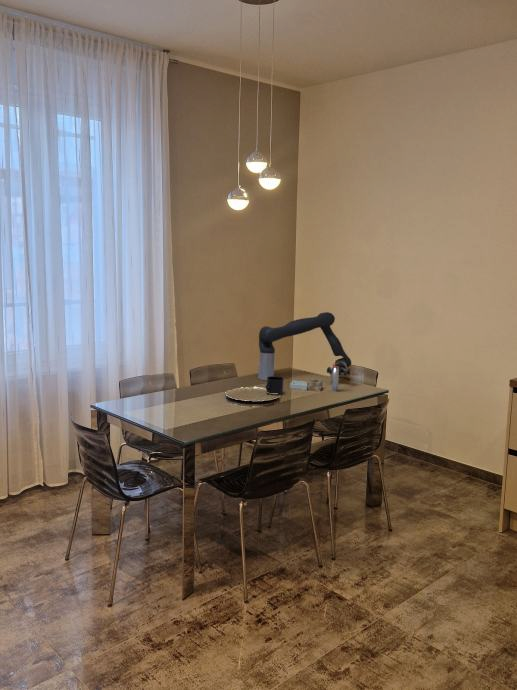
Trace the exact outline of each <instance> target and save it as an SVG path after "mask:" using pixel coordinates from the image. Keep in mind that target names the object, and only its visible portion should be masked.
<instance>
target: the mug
mask: <svg viewBox="0 0 517 690" xmlns="http://www.w3.org/2000/svg"><path fill="white" fill-rule="evenodd" d="M265 389H266V393H267V392H269V393H278V394H281V395H283V394H284V377H281V376H276V375H275V376H270V377H267V380H266V385H265Z"/></svg>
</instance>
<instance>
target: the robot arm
mask: <svg viewBox="0 0 517 690" xmlns="http://www.w3.org/2000/svg"><path fill="white" fill-rule="evenodd" d="M335 318H336V317H335V315H334V314H333V313H331V312H328V311H327V312H326V311H325V312H321V313H319V314H317V316H313V317H303V318H298V319H295V320H291V321H290V322H288V323H286V324H285V325H283V326H278V327H270V326H266V325H265V326H263V327H261V328H260V330H259V334H258V348H259V363H258V373H257V374H258V375H257V379H258V380H261V381H267V377H270V376H274V375H275V371H274V370H275V353H276V350H275V347H274V345H273V343H274V342H277V341H279V340H281V339H282V340H283V339H285V338H288V337H293V336H296V335H297V336H298V335H301V334H305V333H307V332H310V331H313V330H316V329H318V328H320V330H321V331H322V333H323V334H324V336H325V338H326V341H327V342H328V345H329V346H330V348H331V351H332V353H333V355H334V357H341V358H337V359H336V360H335V361H334V366H339V375H338V376H342V375H343V376H347V375H349V376H350V374H351V368H349V367H351V365H352V359H351V358H350V357H349V355H347V352H345V350H344V348H343V345H342V343H341V341H340V340H339V338H338V337H337V336H336V334H335V333H334V331H333V330H332V328H331V326H332V325H333V324H334V323H335V320H336V319H335ZM347 368H348V369H347ZM326 373H327V374H329V375H331V374H332V373H333V367H332V368H331V367H330V366H328V367H327V368H326Z"/></svg>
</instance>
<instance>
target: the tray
mask: <svg viewBox="0 0 517 690" xmlns="http://www.w3.org/2000/svg"><path fill="white" fill-rule="evenodd" d="M289 389H290V390H298V389H301V390H302V391H308V390H307V381H303V380H302V381H301V380H292V381H291V382H290V384H289ZM301 390H300V391H301Z"/></svg>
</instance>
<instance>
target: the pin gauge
mask: <svg viewBox="0 0 517 690" xmlns="http://www.w3.org/2000/svg"><path fill="white" fill-rule="evenodd" d="M332 368H333V373H331V374H332V375H331V376H332V377H331V390H333V391H337V390H339V389H338V388H339V376H340V375H339V366H335V365H333V366H332ZM333 391H332V392H333ZM337 392H338V391H337Z"/></svg>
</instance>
